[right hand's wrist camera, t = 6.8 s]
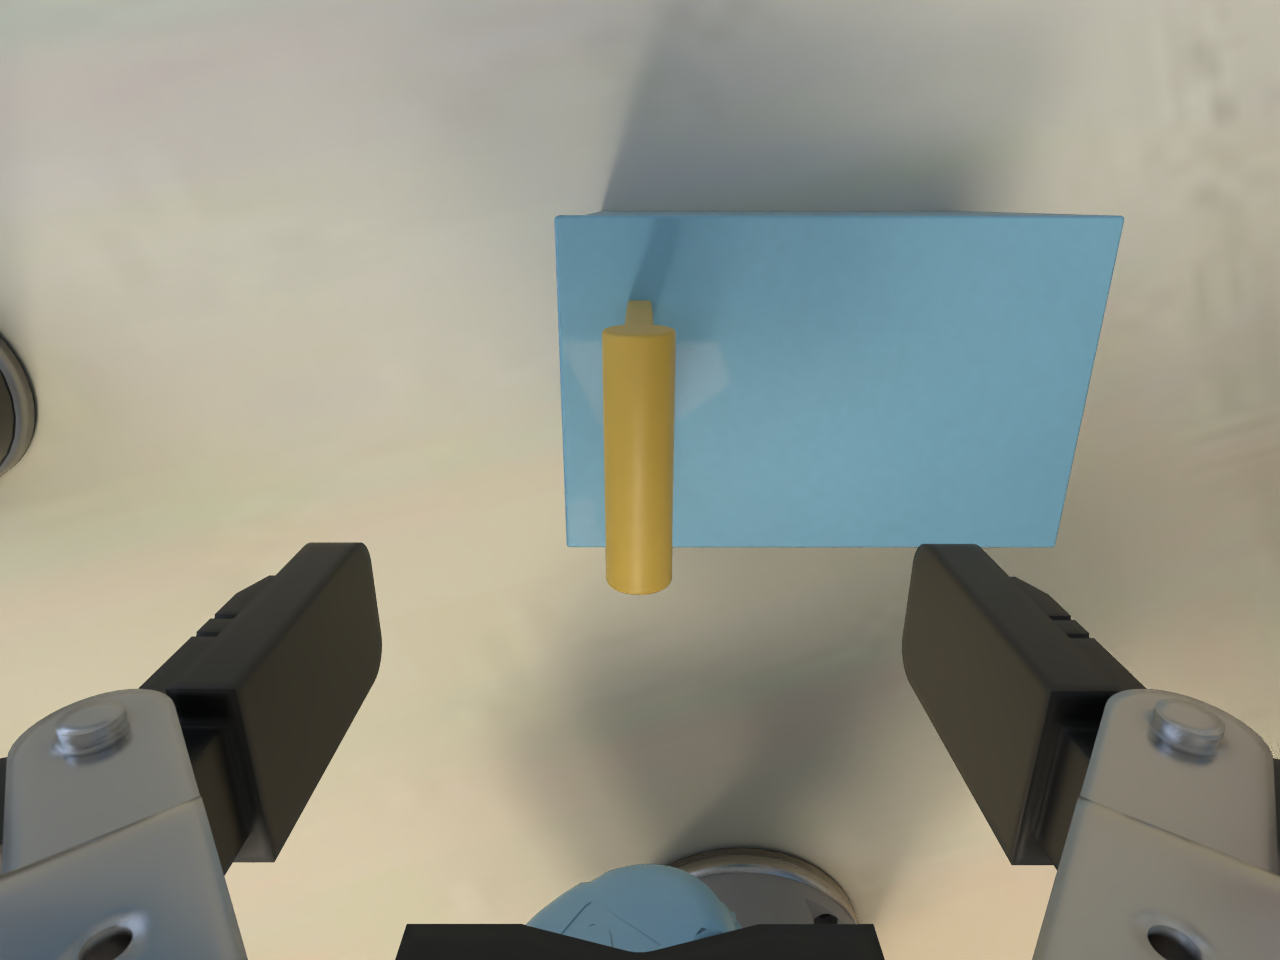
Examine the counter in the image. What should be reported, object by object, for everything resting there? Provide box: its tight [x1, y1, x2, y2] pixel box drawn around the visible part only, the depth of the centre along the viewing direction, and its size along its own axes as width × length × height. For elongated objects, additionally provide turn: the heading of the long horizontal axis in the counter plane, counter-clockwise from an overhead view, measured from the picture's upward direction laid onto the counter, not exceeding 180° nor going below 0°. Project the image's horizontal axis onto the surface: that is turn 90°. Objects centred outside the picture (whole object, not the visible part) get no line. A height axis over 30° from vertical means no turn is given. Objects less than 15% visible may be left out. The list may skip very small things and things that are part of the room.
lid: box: [555, 215, 1124, 595], centre depth 20 cm, size 16×10×8 cm, turn 90°
